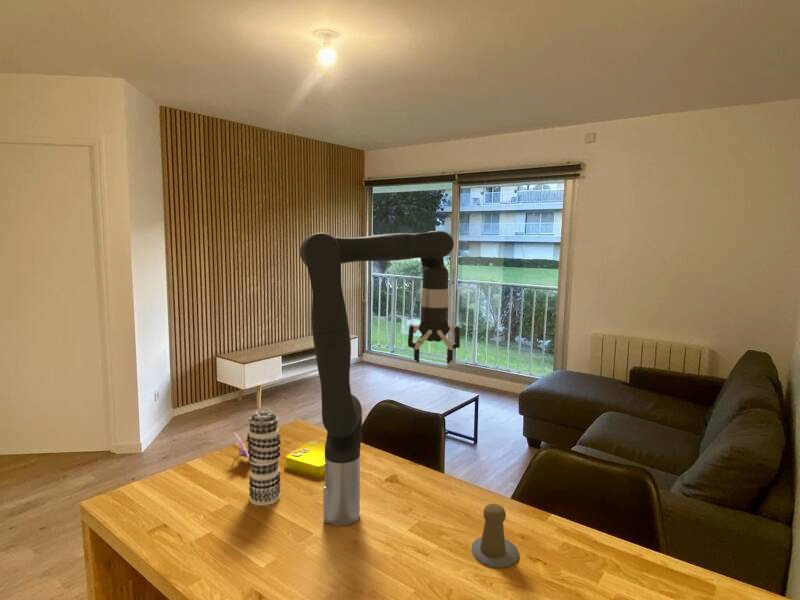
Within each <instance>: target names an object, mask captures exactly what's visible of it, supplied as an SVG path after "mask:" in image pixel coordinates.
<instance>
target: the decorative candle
mask: <svg viewBox="0 0 800 600" xmlns="http://www.w3.org/2000/svg"><path fill="white" fill-rule="evenodd" d="M279 418H280V417H279V415H277V414H276V413H275V412H274V411H273V410H268V409H263V410H259V411H255V412H254V413H253V414H252V416H250V417H249V418H248V422H249V432H247V435H246V442H247V449H248V454H249V459H248V458H247V459H248V462H249V463H250V470H249V477H248V479H249V483H248V484H249V488H248V489H249V490H248V491H249V494H248V496H249V502H250V503H251V504H252V505H255V506H260V507H261V506H262V507H263V506H269V505H272V504H274V503H277V502H278V501H279V500H280V498H281V484H282V483H280V482H281V472H280V466H279V460H280V457H281V447H280V446H279V445H281V443H282V441H281V438H282V437H281V434H279V425H278V424H279V423H278V420H279ZM250 451H251V452H250Z"/></svg>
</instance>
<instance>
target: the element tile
mask: <svg viewBox="0 0 800 600" xmlns="http://www.w3.org/2000/svg"><path fill="white" fill-rule="evenodd" d="M325 444H326V442H325V443H324V442H320V441H316V440H308V441H307V442H305V443H303V444H302V445H300V446H298V447H297V448H295V449H294V450H292V451H290V452H289V453H287V454H285V456H284V468H285V469H286V470H287V471H290V472H294V473H297V474H300V475H305V476H307V477H311V478H315V479H321V478H325Z"/></svg>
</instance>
